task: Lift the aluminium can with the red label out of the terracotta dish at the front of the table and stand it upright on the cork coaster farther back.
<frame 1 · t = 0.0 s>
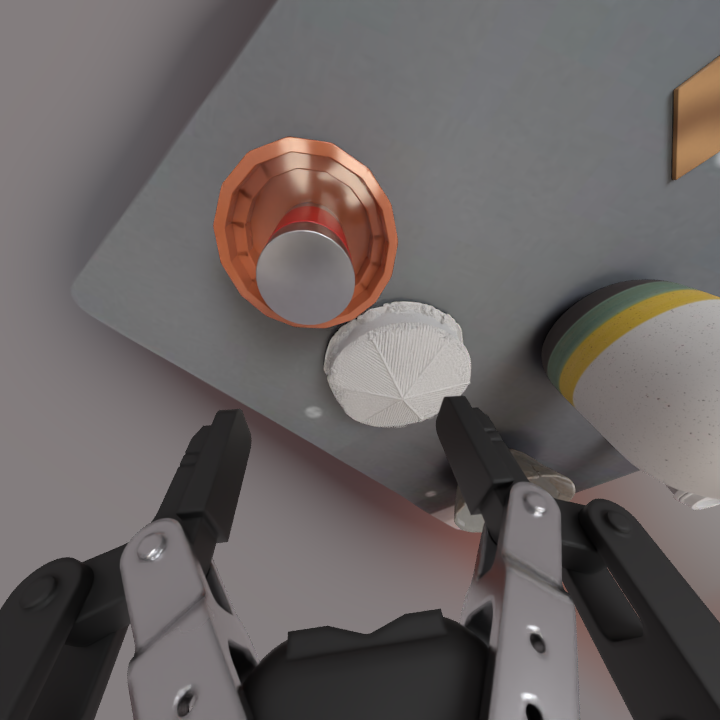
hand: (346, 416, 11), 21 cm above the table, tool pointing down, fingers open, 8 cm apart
ceramic bowl: (487, 459, 57), on the table
coffee cup: (633, 423, 55), on the table
vase: (587, 326, 37), on the table
dish: (312, 237, 26), on the table
white round slab: (393, 362, 37), on the table
can: (312, 239, 25), point 1 cm above the table, touching dish
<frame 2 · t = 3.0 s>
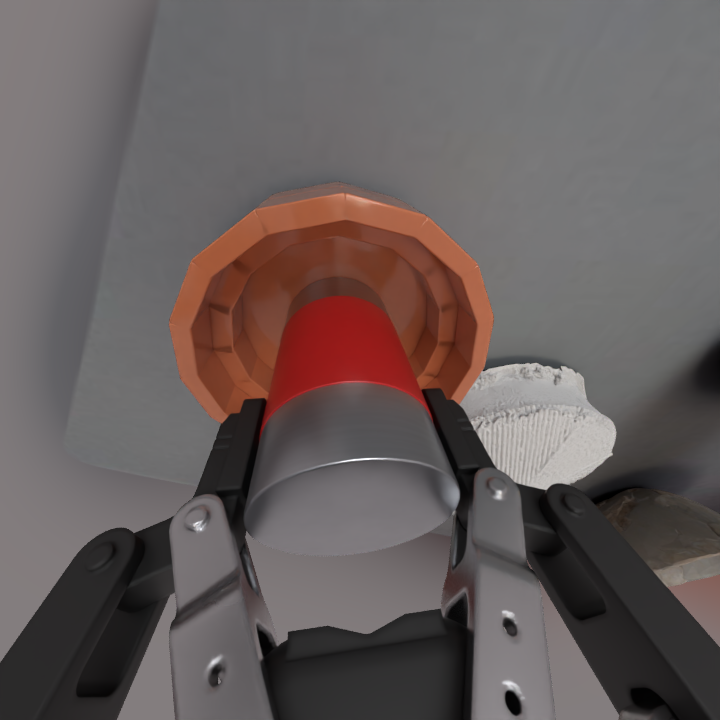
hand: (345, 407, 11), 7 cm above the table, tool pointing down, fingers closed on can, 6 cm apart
ceramic bowl: (615, 499, 43), on the table
dish: (338, 321, 17), on the table
white round slab: (478, 432, 27), on the table
can: (338, 326, 16), point 1 cm above the table, touching dish, gripper
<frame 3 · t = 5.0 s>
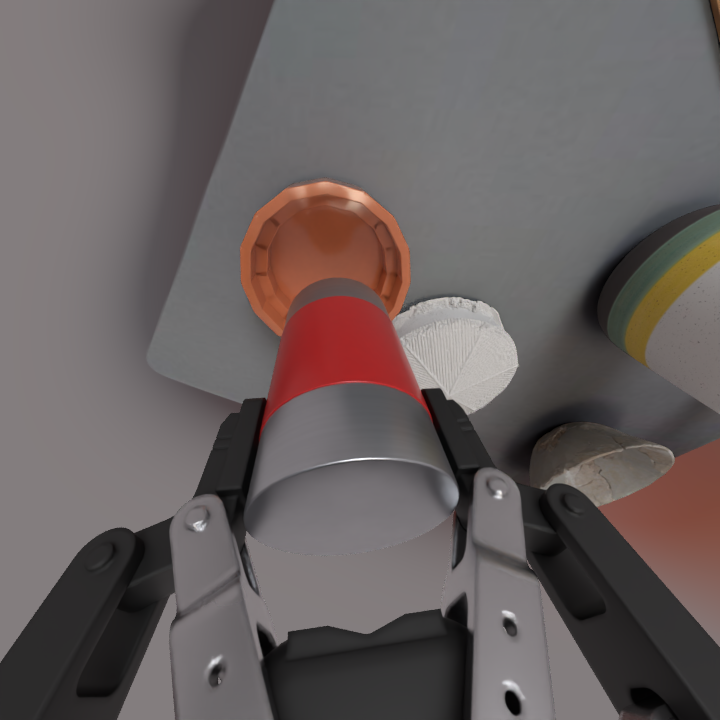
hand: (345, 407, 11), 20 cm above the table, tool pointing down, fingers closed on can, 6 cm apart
ceramic bowl: (558, 436, 53), on the table
vase: (650, 274, 32), on the table
dish: (328, 264, 27), on the table
white round slab: (432, 359, 37), on the table
can: (338, 326, 16), point 13 cm above the table, touching gripper
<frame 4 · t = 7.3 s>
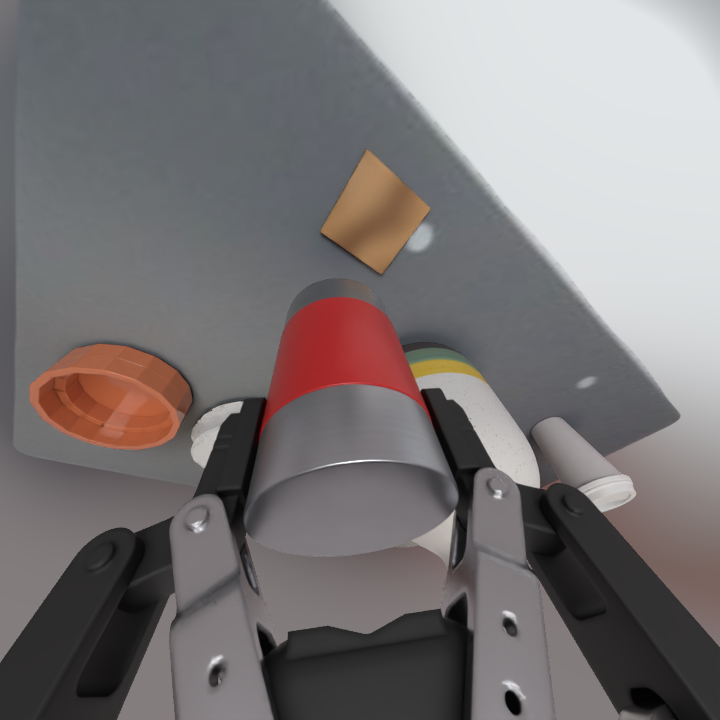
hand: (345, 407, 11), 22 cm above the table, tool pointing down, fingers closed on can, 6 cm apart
coffee cup: (546, 426, 54), on the table
vase: (410, 375, 41), on the table
dish: (133, 385, 36), on the table
white round slab: (260, 435, 46), on the table
coaster: (374, 219, 27), on the table
can: (338, 326, 16), point 15 cm above the table, touching gripper
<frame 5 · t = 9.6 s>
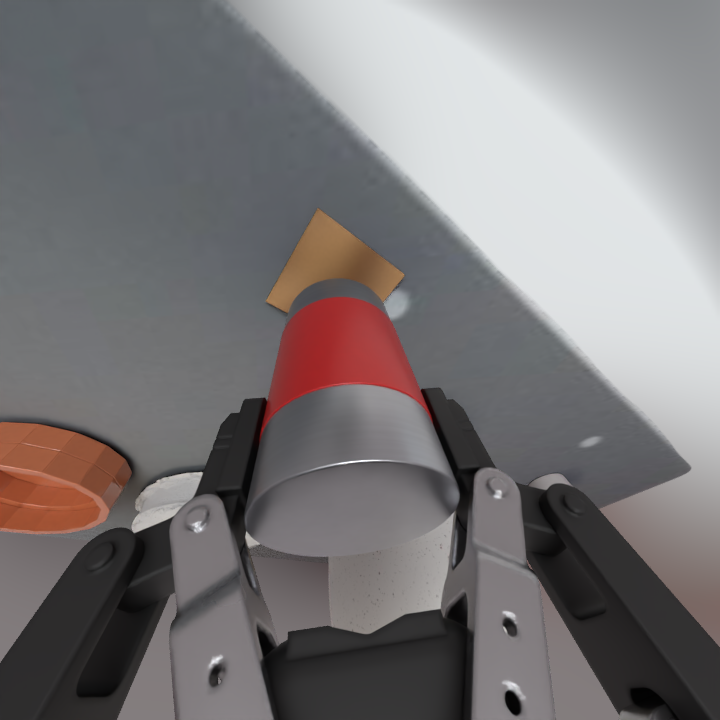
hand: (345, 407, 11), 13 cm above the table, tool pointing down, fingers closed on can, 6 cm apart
coffee cup: (544, 481, 49), on the table
vase: (390, 440, 35), on the table
dish: (57, 459, 30), on the table
white round slab: (219, 499, 40), on the table
coaster: (335, 286, 21), on the table
can: (338, 326, 16), point 6 cm above the table, touching gripper
when the fingers open (7 cm above the table, at t = 11.6 s): can stays where it is, resting on coaster.
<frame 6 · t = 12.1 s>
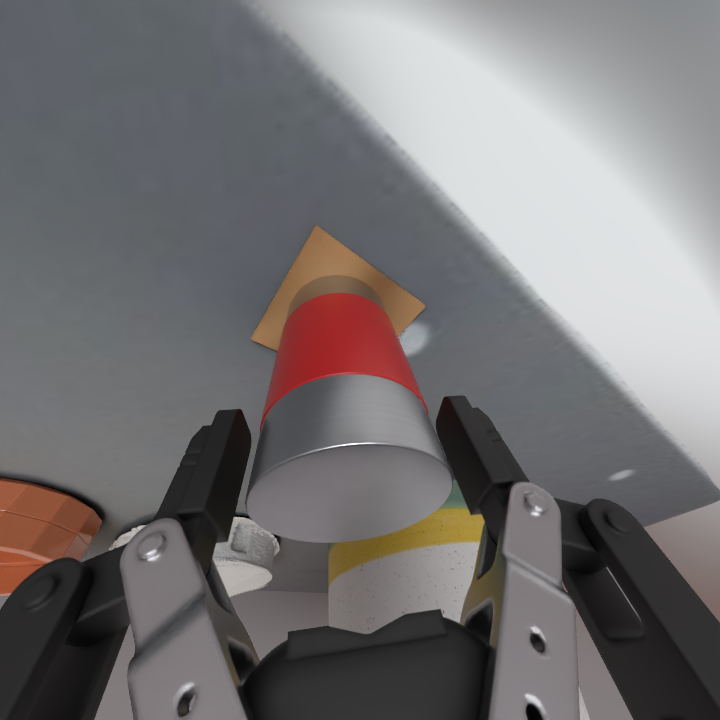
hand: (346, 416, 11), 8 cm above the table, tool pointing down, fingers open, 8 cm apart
vase: (399, 479, 31), on the table
dish: (13, 509, 26), on the table
white round slab: (207, 540, 36), on the table
coaster: (337, 319, 17), on the table
can: (337, 323, 17), resting on coaster
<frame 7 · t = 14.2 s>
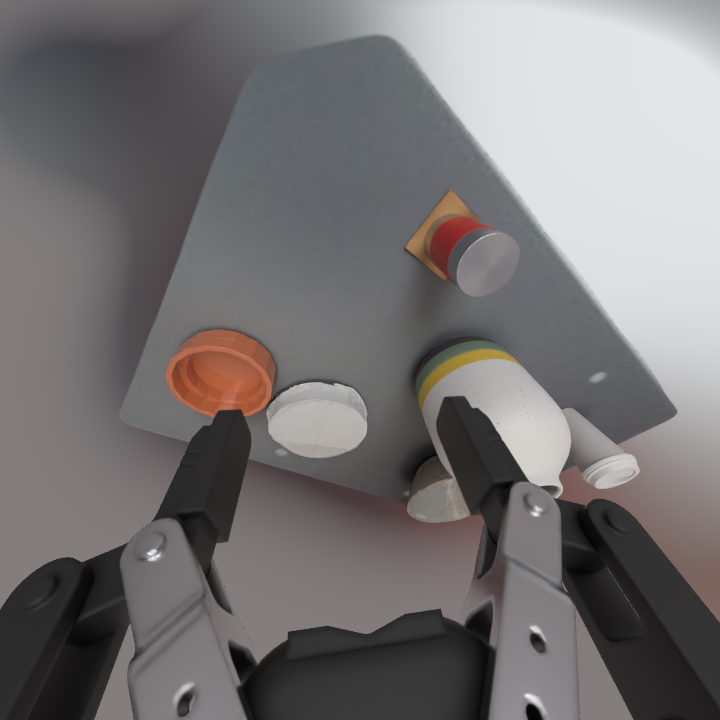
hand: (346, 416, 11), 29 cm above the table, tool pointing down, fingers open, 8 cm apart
ceramic bowl: (440, 462, 69), on the table
coffee cup: (560, 416, 62), on the table
vase: (453, 365, 49), on the table
dish: (230, 365, 44), on the table
white round slab: (319, 414, 53), on the table
coaster: (446, 239, 35), on the table
can: (447, 240, 35), resting on coaster
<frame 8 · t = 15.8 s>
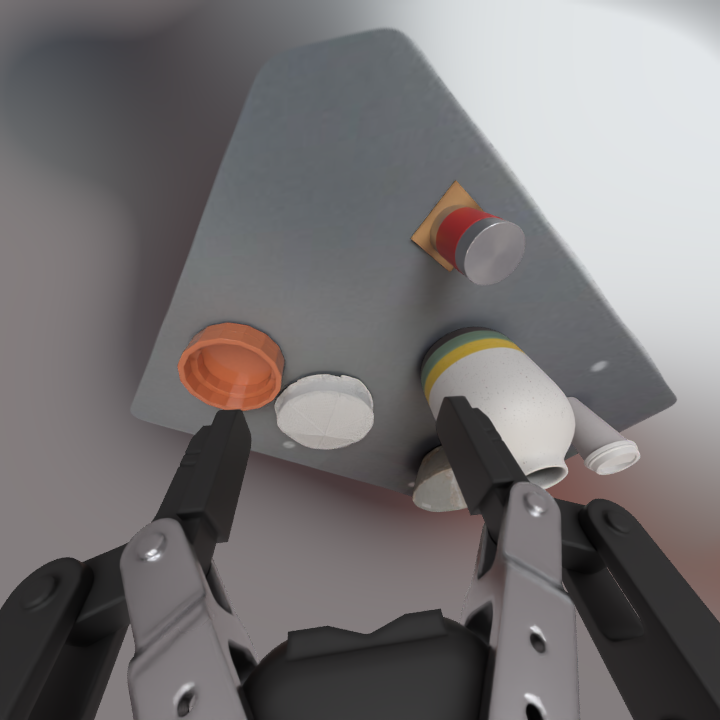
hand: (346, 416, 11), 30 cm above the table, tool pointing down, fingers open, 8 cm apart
ceramic bowl: (444, 452, 70), on the table
coffee cup: (562, 405, 63), on the table
vase: (457, 356, 50), on the table
dish: (239, 359, 44), on the table
white round slab: (326, 406, 54), on the table
coaster: (451, 230, 35), on the table
can: (452, 231, 35), resting on coaster
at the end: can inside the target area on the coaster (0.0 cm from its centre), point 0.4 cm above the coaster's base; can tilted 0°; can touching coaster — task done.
